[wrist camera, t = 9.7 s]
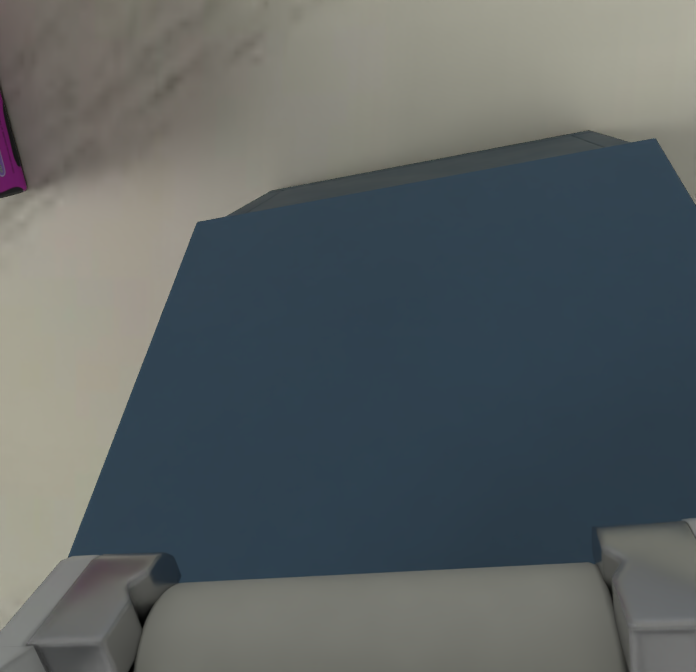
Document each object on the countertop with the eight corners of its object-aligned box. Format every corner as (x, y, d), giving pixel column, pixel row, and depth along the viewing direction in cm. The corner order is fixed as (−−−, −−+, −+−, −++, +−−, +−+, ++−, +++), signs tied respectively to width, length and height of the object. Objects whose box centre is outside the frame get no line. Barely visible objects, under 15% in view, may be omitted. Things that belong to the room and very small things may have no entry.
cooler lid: (1124, 992, 7) (1700, 1030, 4) (-35, 904, 11) (-350, 878, 7) (653, 159, 20) (673, -15, 17) (205, 238, 24) (139, 107, 20)
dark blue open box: (610, 456, 35) (663, 577, 26) (339, 479, 39) (306, 593, 30) (590, 130, 29) (650, 146, 20) (270, 190, 32) (205, 227, 24)
